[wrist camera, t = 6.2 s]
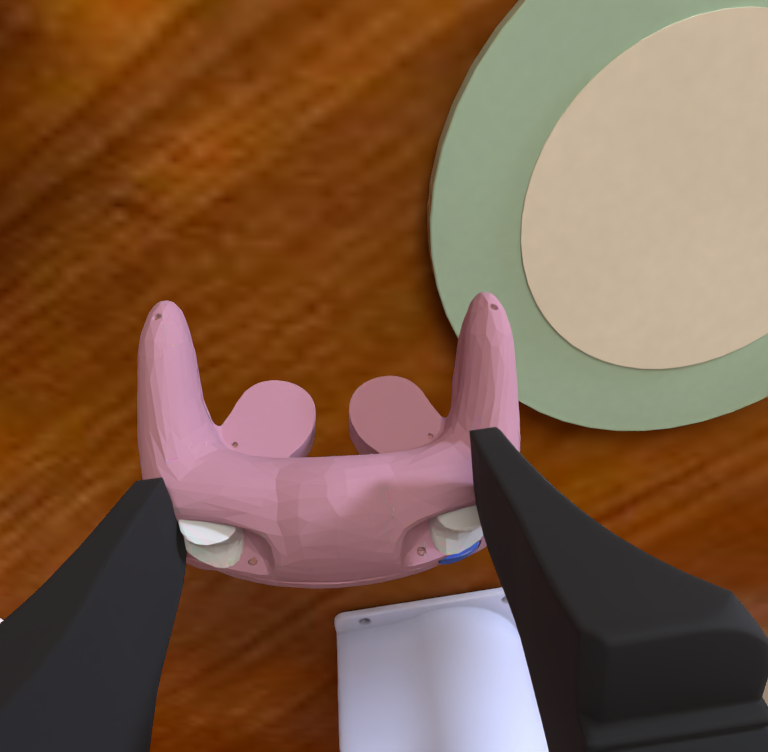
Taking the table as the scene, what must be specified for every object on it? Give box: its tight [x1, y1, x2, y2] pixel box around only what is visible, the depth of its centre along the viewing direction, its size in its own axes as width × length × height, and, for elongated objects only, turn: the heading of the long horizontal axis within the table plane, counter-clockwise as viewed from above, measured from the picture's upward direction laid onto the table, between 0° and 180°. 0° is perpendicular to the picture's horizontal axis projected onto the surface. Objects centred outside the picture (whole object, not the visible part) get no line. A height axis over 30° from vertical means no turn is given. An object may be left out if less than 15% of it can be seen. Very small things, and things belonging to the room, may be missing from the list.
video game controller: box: [137, 292, 520, 588], centre depth 17 cm, size 10×5×7 cm, turn 89°
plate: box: [427, 0, 768, 431], centre depth 22 cm, size 18×18×1 cm
